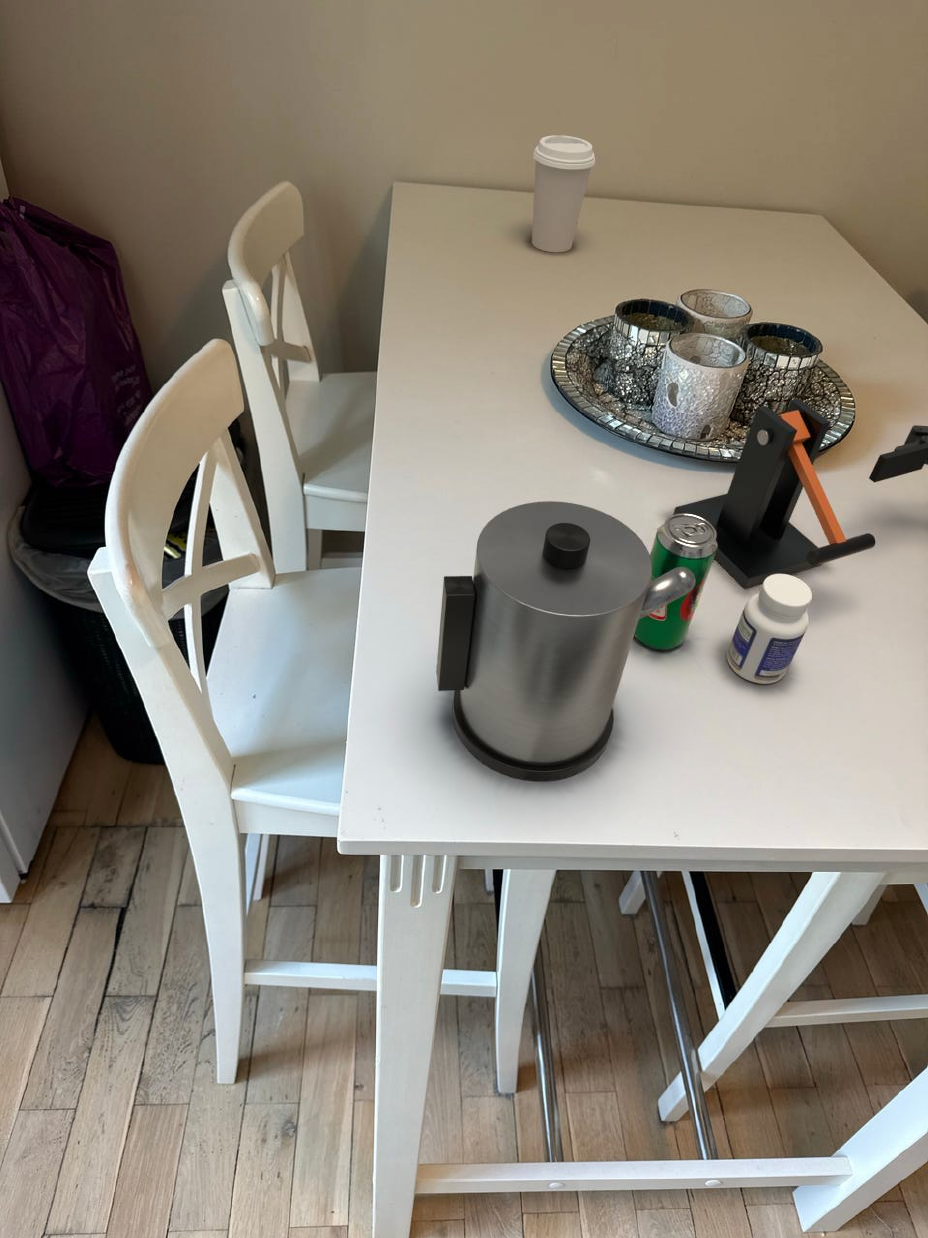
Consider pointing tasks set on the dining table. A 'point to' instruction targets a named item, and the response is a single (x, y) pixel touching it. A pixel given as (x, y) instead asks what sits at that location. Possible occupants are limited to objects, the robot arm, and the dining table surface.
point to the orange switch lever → (821, 502)
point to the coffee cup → (559, 190)
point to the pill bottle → (770, 629)
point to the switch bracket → (763, 500)
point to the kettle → (545, 635)
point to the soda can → (673, 547)
